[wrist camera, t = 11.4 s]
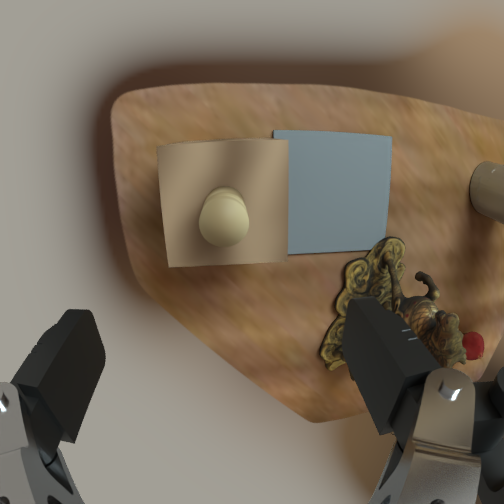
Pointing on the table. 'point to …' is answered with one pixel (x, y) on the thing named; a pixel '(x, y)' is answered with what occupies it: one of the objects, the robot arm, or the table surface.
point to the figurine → (395, 306)
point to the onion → (473, 345)
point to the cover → (225, 201)
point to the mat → (336, 190)
